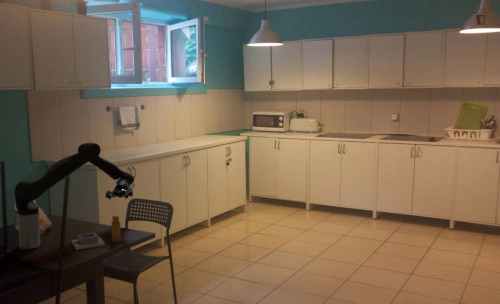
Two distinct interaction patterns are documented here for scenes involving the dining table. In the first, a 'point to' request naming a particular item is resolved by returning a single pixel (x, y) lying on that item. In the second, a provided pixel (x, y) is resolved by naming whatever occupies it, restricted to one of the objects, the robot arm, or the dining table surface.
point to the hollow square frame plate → (88, 241)
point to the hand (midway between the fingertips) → (117, 197)
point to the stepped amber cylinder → (116, 229)
